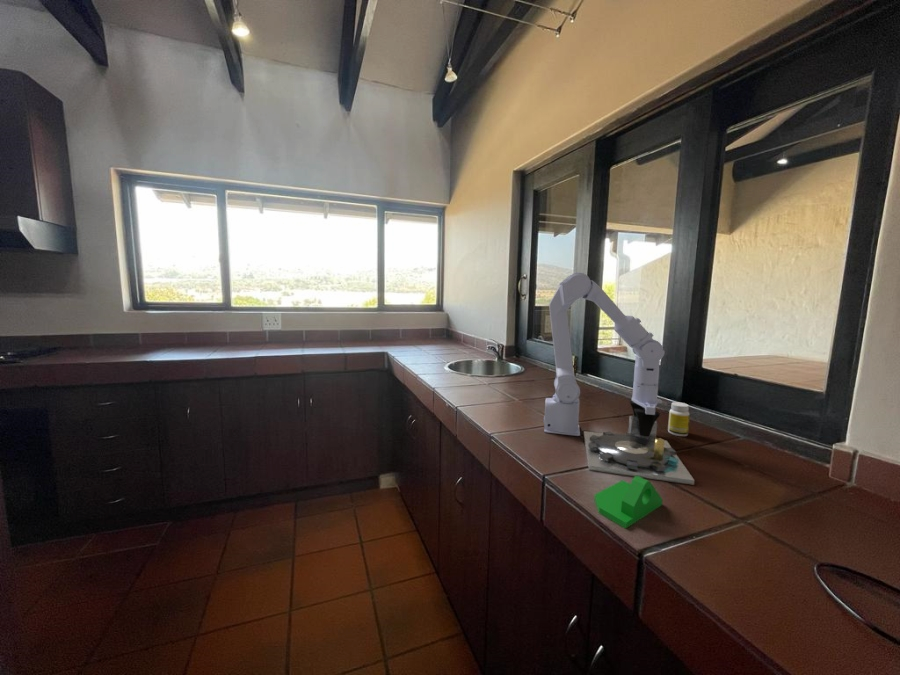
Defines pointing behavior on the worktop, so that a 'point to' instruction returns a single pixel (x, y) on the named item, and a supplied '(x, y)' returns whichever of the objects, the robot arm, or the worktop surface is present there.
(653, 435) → the link block
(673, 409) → the supplement bottle
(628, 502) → the bracket
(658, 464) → the sprocket
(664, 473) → the base plate
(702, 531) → the worktop surface
